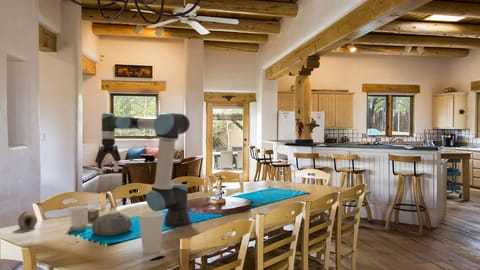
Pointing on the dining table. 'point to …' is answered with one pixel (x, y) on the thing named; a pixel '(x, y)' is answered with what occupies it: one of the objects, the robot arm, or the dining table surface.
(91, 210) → the walnut block
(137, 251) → the dining table surface
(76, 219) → the mug
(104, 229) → the decorative stone
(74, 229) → the coaster
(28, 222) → the grey rounded ring
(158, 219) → the cup
